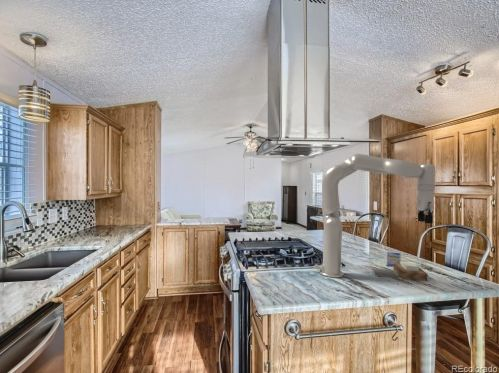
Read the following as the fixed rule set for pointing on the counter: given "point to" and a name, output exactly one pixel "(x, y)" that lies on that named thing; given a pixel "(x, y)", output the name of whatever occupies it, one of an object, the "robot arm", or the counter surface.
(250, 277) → the counter surface
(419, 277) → the brown curved piece
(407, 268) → the card
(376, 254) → the counter surface
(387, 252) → the medicine box
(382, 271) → the mat
